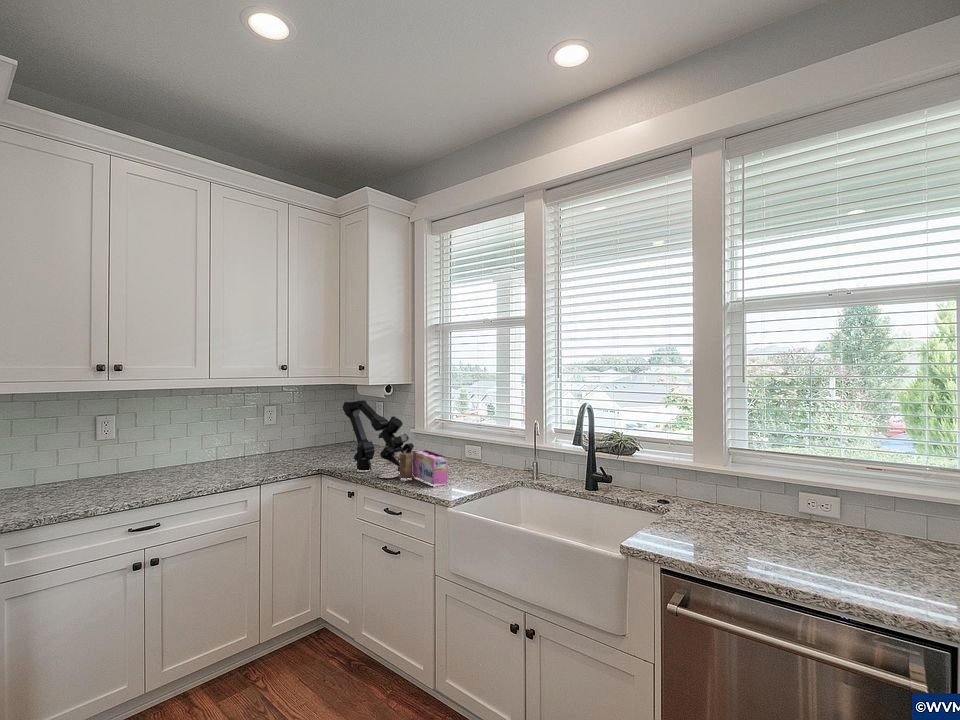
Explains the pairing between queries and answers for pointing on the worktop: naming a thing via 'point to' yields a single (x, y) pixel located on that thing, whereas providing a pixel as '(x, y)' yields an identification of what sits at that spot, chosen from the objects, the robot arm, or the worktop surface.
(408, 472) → the walnut block
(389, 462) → the bronze balance
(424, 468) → the gum box
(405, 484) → the worktop surface
